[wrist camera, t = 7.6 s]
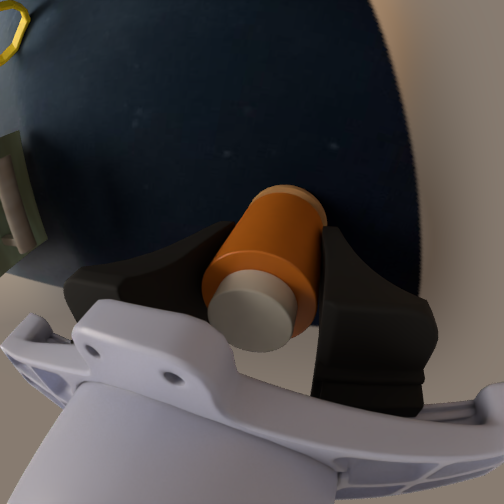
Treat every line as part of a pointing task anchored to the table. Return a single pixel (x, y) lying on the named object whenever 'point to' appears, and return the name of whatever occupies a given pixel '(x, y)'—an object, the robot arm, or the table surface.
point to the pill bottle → (266, 274)
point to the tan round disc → (297, 192)
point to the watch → (20, 30)
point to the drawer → (16, 206)
